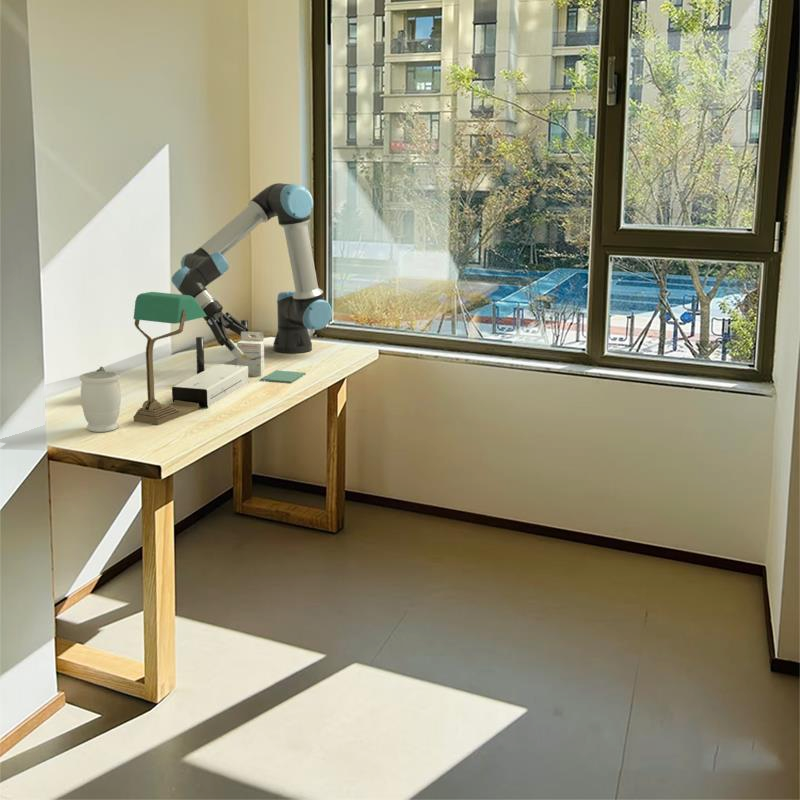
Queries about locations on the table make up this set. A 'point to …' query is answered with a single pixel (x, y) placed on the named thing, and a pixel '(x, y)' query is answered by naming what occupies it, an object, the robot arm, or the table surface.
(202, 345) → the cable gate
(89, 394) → the jar
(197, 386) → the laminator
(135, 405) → the table surface
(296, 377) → the green mat
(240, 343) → the ink cartridge box
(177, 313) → the banker's lamp
